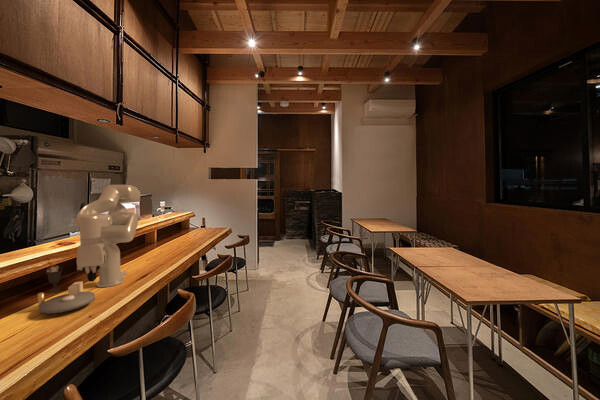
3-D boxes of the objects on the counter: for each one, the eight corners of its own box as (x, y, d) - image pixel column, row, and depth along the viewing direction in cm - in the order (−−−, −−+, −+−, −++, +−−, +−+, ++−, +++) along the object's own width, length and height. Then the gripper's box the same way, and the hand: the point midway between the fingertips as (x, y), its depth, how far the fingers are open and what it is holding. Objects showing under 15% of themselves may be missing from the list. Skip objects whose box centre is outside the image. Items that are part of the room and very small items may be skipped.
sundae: (42, 291, 129) (41, 262, 128) (59, 287, 135) (57, 259, 134) (50, 293, 126) (49, 263, 126) (67, 288, 133) (65, 260, 132)
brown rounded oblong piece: (56, 302, 117) (55, 287, 117) (85, 304, 115) (84, 288, 115) (36, 310, 109) (35, 294, 109) (67, 312, 107) (66, 296, 107)
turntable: (74, 292, 123) (74, 281, 123) (108, 294, 121) (107, 282, 121) (26, 312, 104) (25, 298, 103) (65, 314, 101) (64, 301, 101)
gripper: (112, 239, 125) (113, 276, 126) (74, 241, 120) (75, 280, 120) (107, 241, 119) (109, 281, 119) (66, 244, 113) (68, 285, 113)
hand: (92, 280), depth 120 cm, fingers closed
